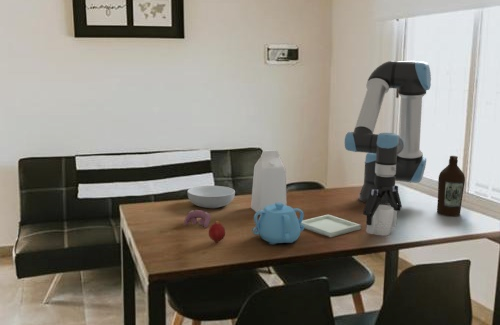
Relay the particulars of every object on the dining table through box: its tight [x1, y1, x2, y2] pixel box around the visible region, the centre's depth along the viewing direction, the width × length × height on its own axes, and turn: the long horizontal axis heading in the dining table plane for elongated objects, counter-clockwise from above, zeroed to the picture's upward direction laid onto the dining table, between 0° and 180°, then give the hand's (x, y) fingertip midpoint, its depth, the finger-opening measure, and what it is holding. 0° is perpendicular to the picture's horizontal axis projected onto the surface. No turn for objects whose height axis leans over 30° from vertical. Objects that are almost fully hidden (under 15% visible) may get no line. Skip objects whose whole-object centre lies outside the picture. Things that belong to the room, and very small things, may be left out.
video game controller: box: [183, 209, 212, 229], centre depth 210 cm, size 10×5×7 cm, turn 71°
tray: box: [300, 213, 362, 238], centre depth 210 cm, size 17×17×2 cm
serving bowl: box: [186, 185, 236, 209], centre depth 238 cm, size 21×21×7 cm
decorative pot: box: [252, 202, 305, 245], centre depth 194 cm, size 16×16×14 cm
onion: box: [208, 220, 226, 244], centre depth 190 cm, size 6×6×8 cm
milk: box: [250, 149, 287, 216], centre depth 230 cm, size 12×12×26 cm
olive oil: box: [436, 155, 466, 217], centre depth 232 cm, size 11×11×25 cm
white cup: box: [373, 204, 394, 237], centre depth 204 cm, size 8×8×10 cm
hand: (381, 229), depth 205 cm, fingers open, 13 cm apart
